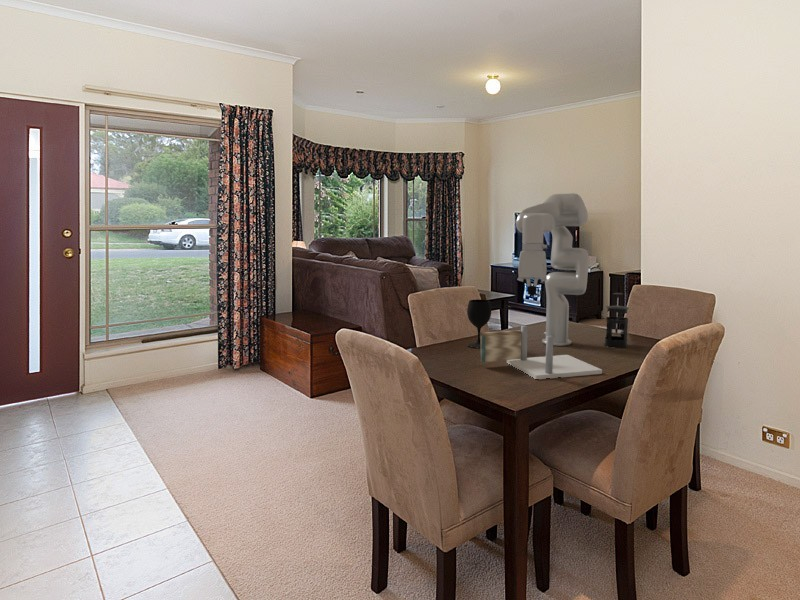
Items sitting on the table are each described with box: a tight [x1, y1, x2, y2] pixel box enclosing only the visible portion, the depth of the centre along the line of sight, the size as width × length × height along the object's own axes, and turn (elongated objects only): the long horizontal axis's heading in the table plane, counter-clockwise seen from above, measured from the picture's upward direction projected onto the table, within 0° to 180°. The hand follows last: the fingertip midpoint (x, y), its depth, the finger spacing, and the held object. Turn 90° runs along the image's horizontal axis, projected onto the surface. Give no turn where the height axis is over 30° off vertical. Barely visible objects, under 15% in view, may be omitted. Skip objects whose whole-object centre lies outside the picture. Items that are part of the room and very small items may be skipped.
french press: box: [603, 292, 630, 349], centre depth 238 cm, size 12×9×23 cm
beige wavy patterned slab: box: [479, 329, 521, 363], centre depth 209 cm, size 16×2×11 cm, turn 104°
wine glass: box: [466, 299, 492, 348], centre depth 240 cm, size 10×10×20 cm
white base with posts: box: [506, 325, 603, 380], centre depth 203 cm, size 23×26×14 cm
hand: (532, 296), depth 208 cm, fingers closed
